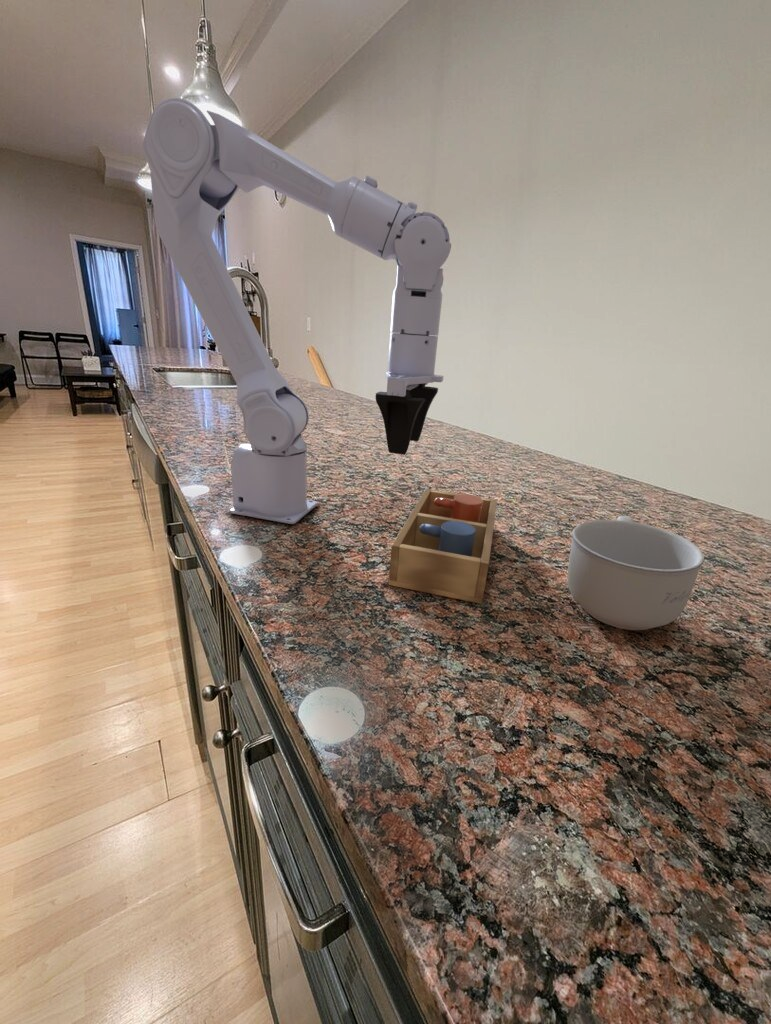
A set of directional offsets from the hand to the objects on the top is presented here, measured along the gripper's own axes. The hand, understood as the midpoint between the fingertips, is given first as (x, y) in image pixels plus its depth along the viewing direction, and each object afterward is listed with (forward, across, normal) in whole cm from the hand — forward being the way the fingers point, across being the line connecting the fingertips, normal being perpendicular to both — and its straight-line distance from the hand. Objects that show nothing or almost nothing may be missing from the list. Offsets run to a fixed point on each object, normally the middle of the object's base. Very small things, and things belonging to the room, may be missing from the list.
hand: (404, 446), depth 58 cm
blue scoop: (+10, -12, -8) cm, 18 cm away
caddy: (+10, -8, -8) cm, 15 cm away
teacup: (+11, -12, -26) cm, 31 cm away
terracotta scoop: (+10, -4, -8) cm, 13 cm away
